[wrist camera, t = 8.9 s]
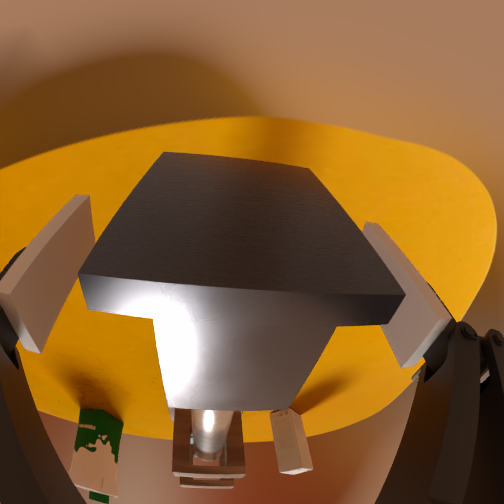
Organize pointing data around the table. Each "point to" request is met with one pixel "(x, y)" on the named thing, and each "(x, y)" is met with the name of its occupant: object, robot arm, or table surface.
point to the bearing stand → (184, 453)
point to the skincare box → (290, 442)
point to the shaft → (236, 281)
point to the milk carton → (96, 454)
